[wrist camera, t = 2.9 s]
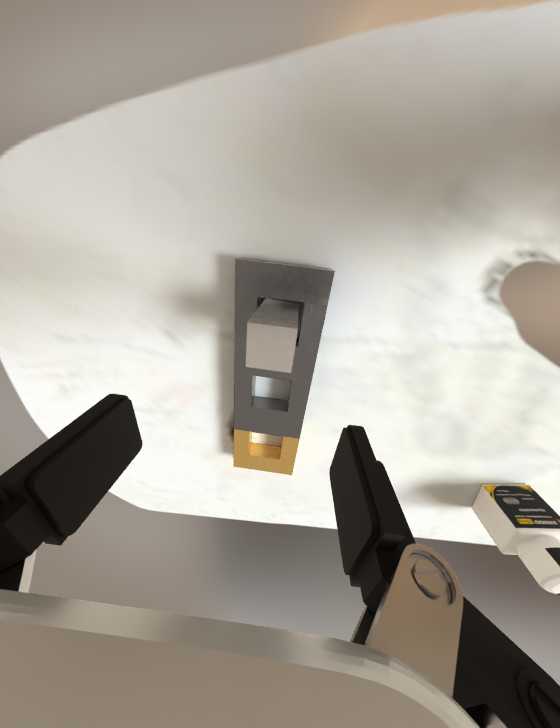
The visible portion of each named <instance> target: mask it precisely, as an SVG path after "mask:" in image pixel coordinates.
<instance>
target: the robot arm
mask: <svg viewBox="0 0 560 728" xmlns="http://www.w3.org/2000/svg"><path fill="white" fill-rule="evenodd" d="M141 448H142V440H141V436H140V432H139V428H138V424H137V421H136V417H135V413H134V409H133V405H132V402H131V400H130V399H129V398H128V397H127V396H125V395H119V394H109V395H107V396H106V397H105V398H103V399H102V400H101V401H99V402H98V403H97V404H95V405H94V406H93V407H91V408H90V409H89V410H87V411H86V412H85V413H83V414H82V415H81V416H79V417H78V418H77V419H75V420H74V421H73V422H71V423H70V424H69V425H67V426H66V427H65V428H63V429H62V430H61V431H59V432H58V433H57V434H55V435H54V436H53V437H51V438H50V439H49V440H47V441H46V442H45V443H43V444H42V445H41V446H39V447H38V448H37V449H35V450H34V451H33V452H32V453H30V454H29V455H27V456H26V457H25V458H24V459H22V460H21V461H19V462H18V463H17V464H15V465H14V466H13V467H11V468H10V469H9V470H8V471H6V472H5V473H3V474H2V475H1V476H0V728H560V686H559V685H558V684H557V683H556V682H555V681H554V680H553V679H552V678H551V677H550V676H549V675H548V674H547V673H546V672H545V671H544V670H543V669H542V668H541V667H540V666H538V665H537V664H536V663H535V662H534V661H533V660H532V659H531V658H530V657H529V656H528V655H527V654H525V653H524V652H523V651H522V650H521V649H520V648H519V647H518V646H517V645H516V644H515V643H514V642H512V641H511V640H510V639H509V638H508V637H507V636H506V635H505V634H504V633H502V631H501V630H499V629H498V628H497V627H496V626H495V625H494V624H493V623H492V622H491V621H490V620H489V619H487V618H486V617H485V616H484V615H483V614H482V613H481V612H480V611H479V610H478V609H477V608H476V607H474V606H473V605H472V604H471V603H470V602H469V601H468V600H467V599H466V598H465V597H463V592H462V589H461V586H460V583H459V581H458V579H457V578H456V575H455V574H454V572H453V570H452V569H451V568H450V566H449V565H448V564H447V562H446V561H445V560H444V559H443V558H442V557H441V556H440V555H438V554H437V553H436V552H435V551H433V550H432V549H430V548H429V547H427V546H424V545H421V544H416V543H415V541H414V538H413V536H412V533H411V531H410V528H409V526H408V523H407V521H406V518H405V516H404V514H403V511H402V509H401V506H400V504H399V501H398V499H397V497H396V494H395V492H394V489H393V487H392V484H391V482H390V480H389V477H388V475H387V472H386V470H385V467H384V466H383V464H382V463H381V462H380V461H376V458H375V456H374V453H373V450H372V448H371V445H370V443H369V440H368V438H367V435H366V432H365V430H364V428H363V427H362V426H355V425H348V427H347V428H343V430H342V434H341V437H340V440H339V443H338V446H337V449H336V452H335V455H334V458H333V461H332V464H331V467H330V481H331V488H332V495H333V501H334V508H335V515H336V522H337V528H338V535H339V542H340V548H341V555H342V562H343V568H344V572H345V574H346V575H349V576H350V583H351V586H354V587H360V588H361V593H362V598H363V602H364V603H365V607H364V609H363V611H362V614H361V616H360V619H359V621H358V624H357V626H356V628H355V631H354V633H353V635H352V638H351V640H350V642H348V641H344V640H339V639H335V638H329V637H323V636H318V635H312V634H306V633H300V632H294V631H289V630H282V629H276V628H270V627H263V626H255V625H249V624H243V623H236V622H229V621H222V620H216V619H208V618H202V617H195V616H188V615H181V614H174V613H168V612H161V611H154V610H147V609H139V608H133V607H125V606H118V605H111V604H104V603H97V602H90V601H82V600H75V599H68V598H61V597H54V596H46V595H39V594H32V593H28V592H29V587H30V581H31V576H32V571H33V565H34V560H35V555H36V549H37V548H38V547H39V546H40V545H41V543H42V542H43V541H44V542H45V543H47V544H54V545H62V543H63V542H64V541H65V540H66V538H67V537H68V536H69V535H72V534H73V533H74V532H76V530H77V529H78V528H79V527H80V526H81V524H82V523H83V522H84V520H85V519H86V518H87V517H88V516H89V514H90V513H91V512H92V510H93V509H94V508H95V507H96V505H97V504H98V503H99V502H100V500H101V499H102V498H103V497H104V495H105V494H106V493H107V492H108V490H109V489H110V488H111V487H112V485H113V484H114V483H115V482H116V480H117V479H118V478H119V477H120V475H121V474H122V473H123V471H124V470H125V469H126V468H127V466H128V465H129V464H130V463H131V461H132V460H133V459H134V458H135V456H136V455H137V454H138V453H139V451H140V450H141Z"/></svg>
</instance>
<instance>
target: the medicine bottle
mask: <svg viewBox="0 0 560 728" xmlns="http://www.w3.org/2000/svg"><path fill="white" fill-rule="evenodd" d="M472 509H473V511H474V512H475V514H476V515H477V517H478V518H479V520H480V521H481V523H482V524H483V526H484V527H485V529H486V530H487V532H488V533H489V535H490V536H491V538H492V539H493V541H494V542H495V544H496V545H497V547H498V548H499V550H500V551H501V552H502V553H503V554H515V555H518V556H519V557H520V559H521V560H522V561H523V563H524V564H525V566H526V567H527V568H528V570H529V571H530V573H531V574H532V575H533V577H534V578H535V580H536V581H537V582H538V584H539V585H540V586H541V587H542V588H543V589H545V590H546V591H548V592H552V593H555V594H559V595H560V516H559V515H558V514H557V513H556V512H555V511H554V510H553V509H552V508H551V507H550V506H549V505H548V504H547V503H546V502H545V501H544V500H543V499H542V498H541V497H540V496H539V495H538V494H537V493H536V492H535V491H534V490H533V489H532V488H531V487H530V486H529V485H527V484H483V485H482V487H481V489H480V491H479V493H478V495H477V497H476V499H475V501H474V504H473V506H472Z"/></svg>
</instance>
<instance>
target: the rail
mask: <svg viewBox="0 0 560 728" xmlns="http://www.w3.org/2000/svg"><path fill="white" fill-rule="evenodd" d="M334 272H335V271H334V270H332V269H325V268H317V267H309V266H301V265H293V264H285V263H277V262H269V261H261V260H253V259H245V258H238V259H236V277H235V378H234V467H241V468H248V469H254V470H261V471H268V472H275V473H281V474H288V475H292V472H293V467H294V462H295V457H296V453H297V448H298V443H299V438H300V434H301V429H302V424H303V419H304V414H305V410H306V405H307V400H308V395H309V391H310V386H311V381H312V376H313V372H314V367H315V362H316V357H317V353H318V348H319V343H320V338H321V333H322V329H323V324H324V319H325V314H326V310H327V305H328V300H329V295H330V291H331V286H332V281H333V276H334ZM261 297H266V298H274V299H282V300H290V301H298V302H304V306H303V312H302V318H301V325H300V331H299V337H298V339H296V345H295V352H294V358H293V365H292V371H291V373H287V372H280V371H272V370H265V369H258V368H250V367H246V344H247V322H248V321H249V320H250V318H251V317H252V316H253V314H254V313H255V312H256V310H257V309H258V308H259V306H260V301H261ZM256 376H261V377H269V378H276V379H283V380H290V381H292V382H291V388H290V394H289V401H285V400H278V399H270V398H263V397H256V396H254V394H255V379H256ZM252 432H256V433H263V434H270V435H277V436H283V439H282V445H281V447H277V446H270V445H263V444H256V443H251V441H252Z"/></svg>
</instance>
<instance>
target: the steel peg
mask: <svg viewBox="0 0 560 728" xmlns="http://www.w3.org/2000/svg"><path fill="white" fill-rule="evenodd" d="M298 314H299V302H291V301H283V300H275V299H268V298H265V300H264V301H263V302H262V304H261V305H260V306H259V308H258V309H257V310H256V312H255V313H254V314H253V316H252V317H251V318H250V320H249V321H248V322H247V344H246V367H250V368H258V369H265V370H272V371H280V372H287V373H291V371H292V365H293V358H294V352H295V345H296V339H297V332H298Z"/></svg>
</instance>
